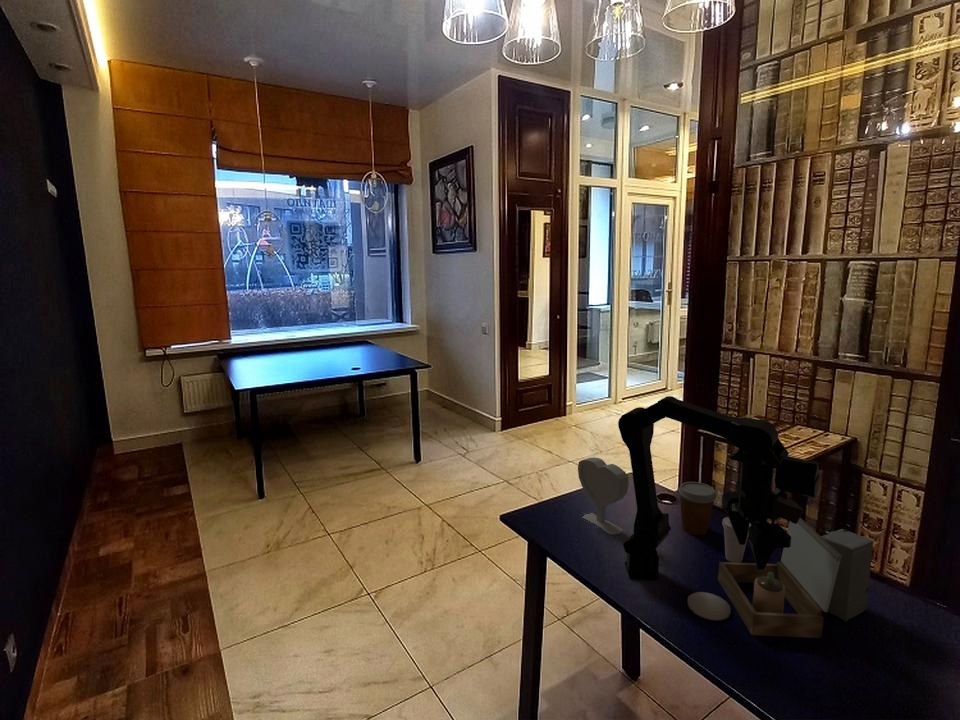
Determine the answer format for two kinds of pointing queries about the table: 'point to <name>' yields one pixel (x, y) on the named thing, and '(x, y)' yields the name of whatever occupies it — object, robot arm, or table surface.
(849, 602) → the skincare box
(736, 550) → the smoothie
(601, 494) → the heart sculpture
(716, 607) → the cream round disc
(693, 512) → the disposable coffee cup
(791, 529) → the grey angled plate
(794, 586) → the open wooden box frame
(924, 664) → the table surface
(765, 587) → the clay pot
